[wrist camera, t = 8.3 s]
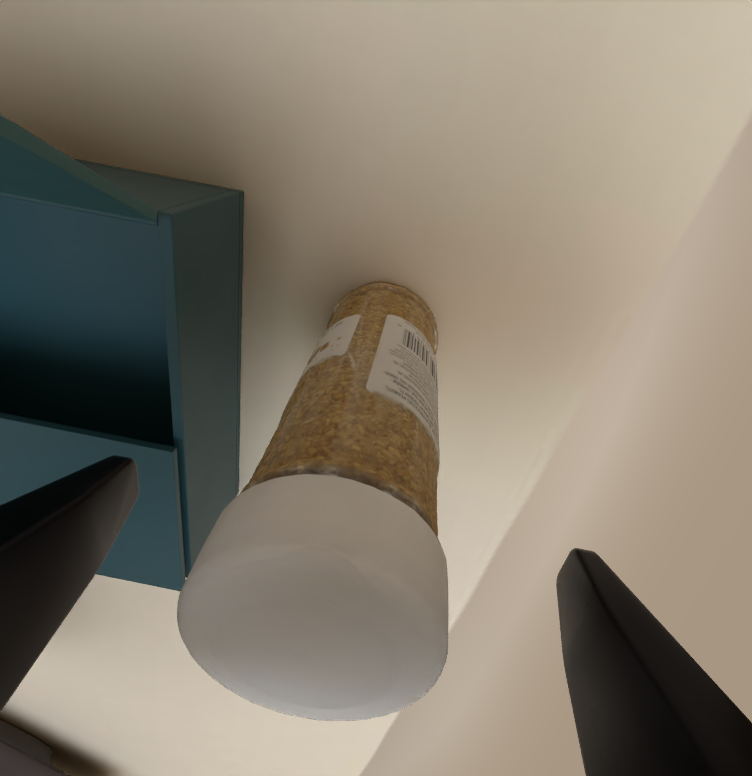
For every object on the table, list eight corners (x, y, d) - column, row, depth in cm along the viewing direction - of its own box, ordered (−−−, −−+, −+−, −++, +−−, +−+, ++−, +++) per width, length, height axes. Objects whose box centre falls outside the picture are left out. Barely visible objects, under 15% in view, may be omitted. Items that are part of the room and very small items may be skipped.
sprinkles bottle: (317, 289, 18) (116, 566, 7) (432, 271, 18) (428, 552, 6) (343, 389, 21) (223, 731, 9) (446, 377, 20) (465, 738, 8)
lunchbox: (-121, 121, 17) (-369, 117, 12) (243, 191, 17) (157, 218, 12) (-17, 441, 24) (-142, 527, 19) (238, 492, 24) (184, 593, 19)
